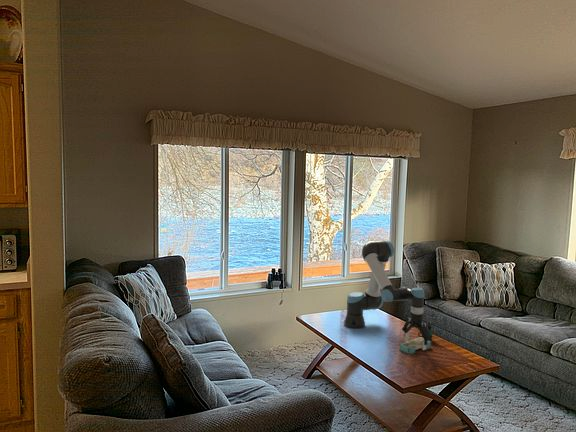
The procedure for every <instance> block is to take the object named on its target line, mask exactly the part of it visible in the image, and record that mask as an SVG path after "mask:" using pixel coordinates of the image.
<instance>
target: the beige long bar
mask: <svg viewBox="0 0 576 432" xmlns="http://www.w3.org/2000/svg"><path fill="white" fill-rule="evenodd" d="M423 339H424V338H423V337H419V336H418V337H417V338H416V337H415V338H413V339H409V341H406V342H405V341H404V343H405V346H407V347H412V346H415V351H416V350H419V349H422V347H423Z"/></svg>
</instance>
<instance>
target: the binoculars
mask: <svg viewBox="0 0 576 432" xmlns="http://www.w3.org/2000/svg"><path fill="white" fill-rule="evenodd" d="M427 329H428V332H429V335H430V338H431V339H429V340H428V341H430V342H431V343H433V341H434V340H433V333H434V330H433V329H432V326H431V323H427ZM420 334H421V333H420V331H419V332H418V333H417V337H418V338H419V337H423V336H422V334H421V335H420Z"/></svg>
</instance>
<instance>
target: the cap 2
mask: <svg viewBox="0 0 576 432" xmlns="http://www.w3.org/2000/svg"><path fill="white" fill-rule="evenodd" d="M431 348H432V342H430V341H428V342H427V345H426V350H429V349H431Z"/></svg>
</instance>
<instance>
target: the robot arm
mask: <svg viewBox="0 0 576 432" xmlns="http://www.w3.org/2000/svg"><path fill="white" fill-rule="evenodd" d="M394 254H395V248H394V245H393V243H392V241H390V240H383V239H382V240H369V241H367V242H366V243H365V244H364V245H363V247H362V251H361V256H362V258H363V261H364V262H365V264H367V265H368V267H369V270H370V277H369V282H368V288H366V289H365V290H364V293H363V292H360V291H353V292H350V293H349V294H348V295H347V297H346V298H347V299H346V316H345V318H344V321H343V325H344V326H345V327H347V328H351V329H362V328H364V327H366V322H365V317H364V311H369V310H370V311H371V310H378V309H380V308H382V306H383V304H384V302H385V303H386V302H390V303H391V302H396V301H409V302H410V317H407V318H406V321H405V323H404V325H403V326H402V329H401V330H402V331H403V332H404V343H405V342H406V341H410V332H409V331H410V330H412V329H413V328H416V329H417V330H418V331H419V332H420V333H421V336H423V338H424V339H423V347H422V348H421V350H422V351H425V350H427V349H426V345H427V342H428V340H429V339H431V338H430V335H429V332H428V329H427V327H428V326H427V324H428V323H426V322H423V319H424V305H425V304H424V303H425V290H424V288H421V287H412V288H410V287H408V286H401V287H399V288H395V287H394V286H393V284H392V282H391V280H390V278H389V276H388V275H387V273H386V271H385V270H386V264H387V263H388V262H389V261H390V258H392V257H394Z"/></svg>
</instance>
